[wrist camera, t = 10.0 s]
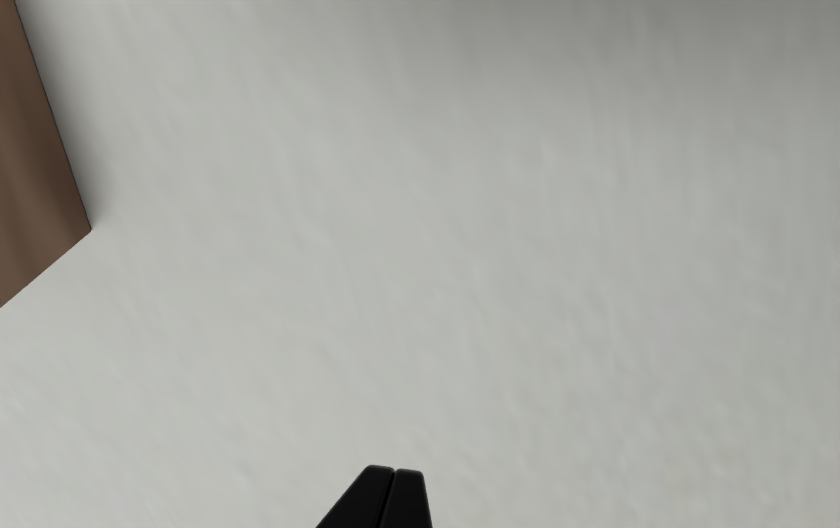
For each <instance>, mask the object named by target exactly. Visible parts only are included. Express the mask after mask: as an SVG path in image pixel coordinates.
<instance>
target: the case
mask: <svg viewBox="0 0 840 528" xmlns="http://www.w3.org/2000/svg"><path fill="white" fill-rule="evenodd" d="M90 232H91V228H90V226H89V223H88V220H87V217H86V214H85V211H84V208H83V205H82V202H81V199H80V196H79V193H78V190H77V187H76V184H75V181H74V178H73V175H72V172H71V169H70V166H69V163H68V160H67V157H66V154H65V151H64V148H63V145H62V143H61V140H60V137H59V134H58V131H57V128H56V125H55V122H54V119H53V116H52V113H51V110H50V107H49V104H48V101H47V98H46V95H45V92H44V89H43V86H42V83H41V80H40V77H39V74H38V71H37V68H36V65H35V62H34V60H33V57H32V54H31V51H30V48H29V45H28V42H27V39H26V36H25V33H24V30H23V27H22V24H21V21H20V18H19V15H18V12H17V9H16V6H15V3H14V0H0V308H1V307H2V306H3V305H4V304H6V303H7V302H8V301H9V300H10V299H11V298H13V297H14V296H15V295H16V294H17V293H19V292H20V291H21V290H22V289H23V288H24V287H26V286H27V285H28V284H29V283H30V282H32V281H33V280H34V279H35V278H36V277H37V276H39V275H40V274H41V273H42V272H43V271H45V270H46V269H47V268H48V267H49V266H51V265H52V264H53V263H54V262H55V261H56V260H58V259H59V258H60V257H61V256H62V255H64V254H65V253H66V252H67V251H68V250H69V249H71V248H72V247H73V246H74V245H75V244H77V243H78V242H79V241H80V240H81V239H82V238H84V237H85V236H86V235H87V234H88V233H90Z"/></svg>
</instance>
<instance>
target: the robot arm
mask: <svg viewBox="0 0 840 528" xmlns="http://www.w3.org/2000/svg"><path fill="white" fill-rule="evenodd" d="M316 528H433V527H432V521H431V515H430V510H429V504H428V498H427V493H426V487H425V481H424V476H423V474H422V472H420V471H416V470H408V469H397V470H396V471H395V470H394V469H393V468H391V467H386V466H379V465H369V466H367V467H366V468H365V469H364V470H363V471H362V472H361V473H360V475H359V476H358V477H357V478H356V479H355V481H354V482H353V483H352V484H351V485H350V487H349V488H348V489H347V490H346V492H345V493H344V494H343V495H342V496H341V498H340V499H339V500H338V501H337V502H336V504H335V505H334V506H333V507H332V508H331V510H330V511H329V512H328V513H327V514H326V516H325V517H324V518H323V519H322V520H321V522H320V523H319V524H318V525H317V526H316Z"/></svg>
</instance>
